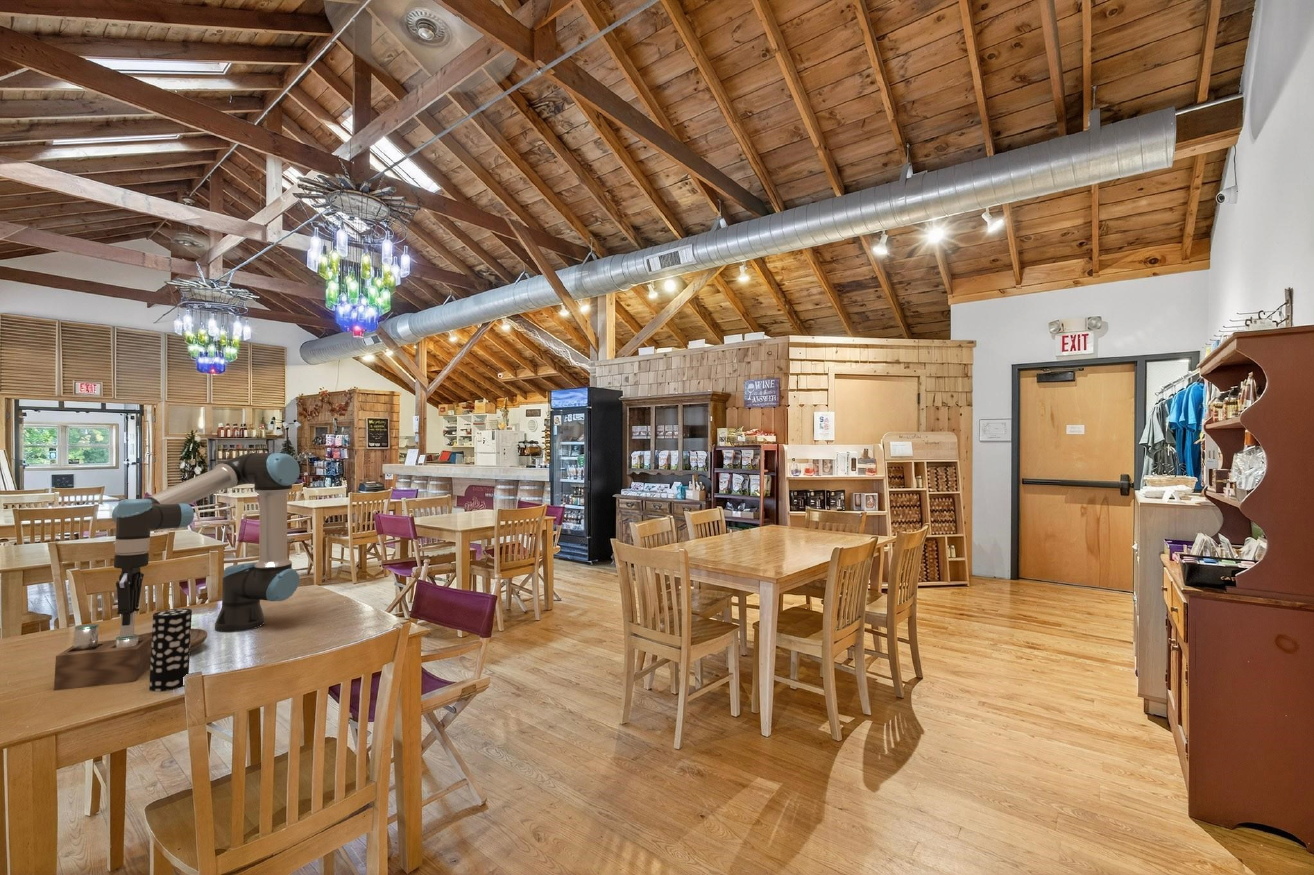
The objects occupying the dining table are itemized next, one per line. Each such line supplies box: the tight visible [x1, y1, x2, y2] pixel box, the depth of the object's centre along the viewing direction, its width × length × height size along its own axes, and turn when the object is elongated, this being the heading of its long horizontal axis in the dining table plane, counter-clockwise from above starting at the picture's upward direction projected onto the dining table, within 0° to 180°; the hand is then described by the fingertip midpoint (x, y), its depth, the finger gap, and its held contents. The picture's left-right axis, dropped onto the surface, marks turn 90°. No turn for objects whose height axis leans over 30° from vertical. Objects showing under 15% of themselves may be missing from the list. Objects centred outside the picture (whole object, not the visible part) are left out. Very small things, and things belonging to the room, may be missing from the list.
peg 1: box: [73, 623, 100, 651], centre depth 165 cm, size 5×5×8 cm
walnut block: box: [53, 637, 152, 691], centre depth 167 cm, size 17×12×9 cm
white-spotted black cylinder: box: [148, 608, 193, 692], centre depth 163 cm, size 8×8×20 cm
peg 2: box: [115, 633, 139, 648], centre depth 169 cm, size 5×5×8 cm
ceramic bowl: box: [138, 628, 208, 651], centre depth 188 cm, size 23×24×5 cm
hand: (126, 635), depth 169 cm, fingers closed
